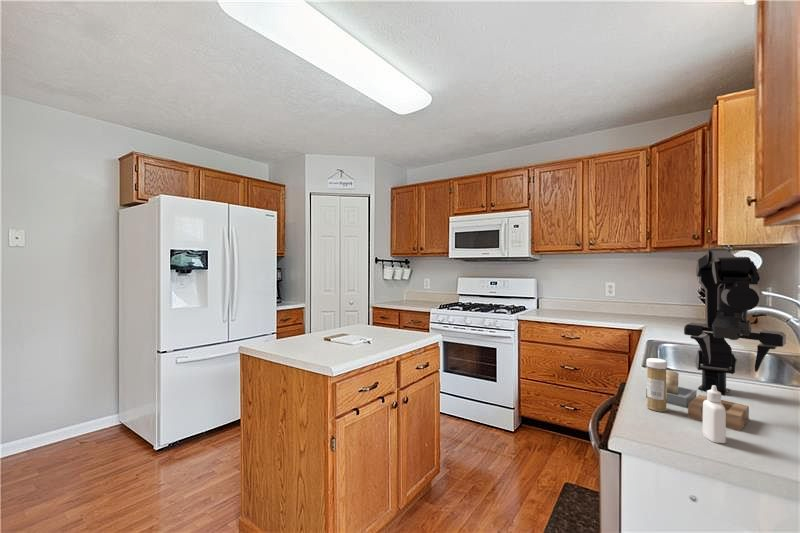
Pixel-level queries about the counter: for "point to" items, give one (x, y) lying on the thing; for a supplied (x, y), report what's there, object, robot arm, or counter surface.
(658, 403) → the sprinkles bottle
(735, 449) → the counter surface
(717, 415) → the eye dropper bottle
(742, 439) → the counter surface
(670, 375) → the beige wooden peg
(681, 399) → the gray square tray
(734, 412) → the brown square frame
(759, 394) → the counter surface
